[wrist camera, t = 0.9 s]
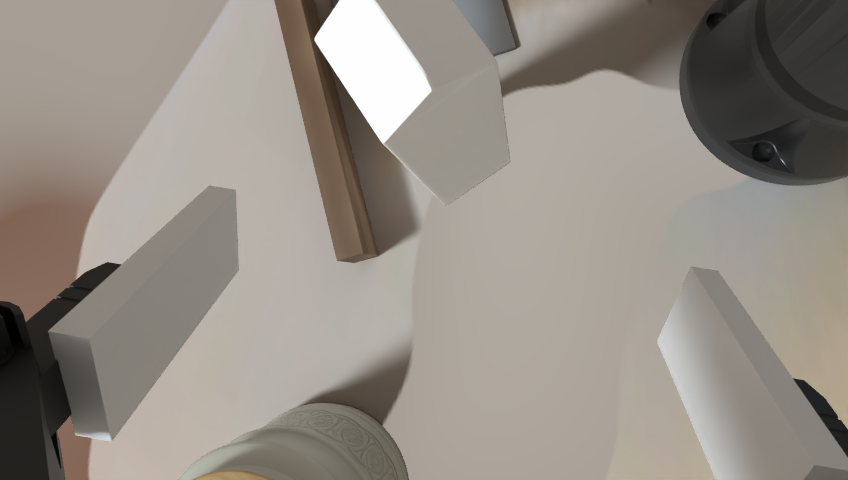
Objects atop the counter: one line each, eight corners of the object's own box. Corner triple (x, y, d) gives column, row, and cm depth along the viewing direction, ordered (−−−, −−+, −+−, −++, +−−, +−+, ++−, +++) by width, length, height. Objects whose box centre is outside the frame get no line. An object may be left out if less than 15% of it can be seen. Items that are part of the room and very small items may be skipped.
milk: (467, 101, 42) (408, -97, 21) (511, 163, 41) (498, 23, 20) (403, 146, 43) (280, 0, 21) (445, 209, 42) (360, 122, 20)
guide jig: (471, -101, 43) (466, -139, 40) (562, 203, 40) (566, 195, 36) (283, -29, 46) (260, -58, 42) (354, 262, 43) (337, 260, 39)
